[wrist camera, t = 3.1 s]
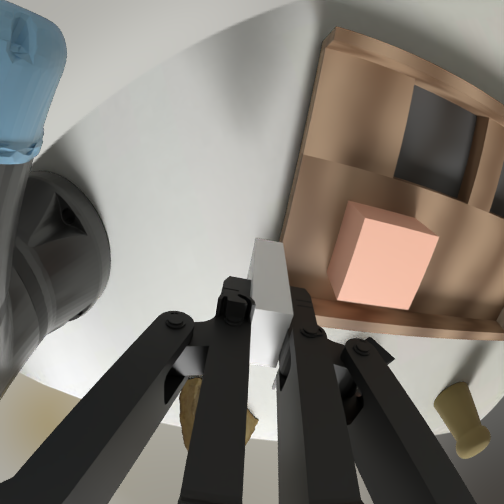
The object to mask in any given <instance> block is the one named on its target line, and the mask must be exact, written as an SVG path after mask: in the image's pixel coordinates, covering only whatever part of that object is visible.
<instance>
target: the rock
mask: <svg viewBox="0 0 504 504" xmlns="http://www.w3.org/2000/svg"><path fill="white" fill-rule="evenodd" d="M201 383H202V379H200V378H193V379H188V380H187V382H186V383H185V385H184V386H183V388H182V389H181V393H180V397H179V400H180V423H181V426H182V434H183V440H184V444H185V447H186V449H187V450H189V444H190V439H191V434H192V429H193V424H194V418H195V413H196V408H197V403H198V398H199V393H200V388H201ZM258 421H259V420H258V419H255V418H254V417H253V416H252V414H250V412H249V410H248V409H247V419H246V438H245V445H246V444H247V442H248V441H249V439H250V437H251V435H252V433H253V432H254V430H255V426H256V425H257V423H258Z"/></svg>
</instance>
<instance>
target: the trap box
mask: <svg viewBox="0 0 504 504" xmlns="http://www.w3.org/2000/svg"><path fill="white" fill-rule="evenodd" d="M348 201H352V202H357V203H361V204H365V205H369V206H372V207H376V208H380V209H384V210H388V211H392V212H395V213H399V214H403V215H406V216H410V217H413V218H416V219H417V220H418V221H420V222H421V223H422V224H424V225H425V226H426V227H427V228H429V229H430V230H431V231H432V232H434V233H435V234H436V235H437V236H439V239H438V242H437V244H436V247H435V249H434V252H433V255H432V257H431V260H430V262H429V265H428V267H427V269H426V272H425V274H424V276H423V279H422V281H421V283H420V286H419V288H418V290H417V292H416V294H415V297H414V299H413V301H412V303H411V305H410V307H409V309H408V310H405V309H397V308H390V307H382V306H375V305H368V304H361V303H354V302H347V301H340V300H337V299H336V296H335V293H334V291H333V288H332V285H331V283H330V280H329V278H328V275H327V269H328V266H329V263H330V260H331V257H332V254H333V250H334V247H335V244H336V241H337V237H338V234H339V231H340V227H341V224H342V220H343V217H344V213H345V210H346V206H347V203H348ZM279 242H281V243H283V246H284V253H285V259H286V266H287V273H288V280H289V286H293V287H299V288H305V289H306V290H307V292H308V293H309V294H310V295H311V299H312V304H313V309H314V312H315V316H316V321H317V325H319V326H320V327H327V328H335V329H344V330H353V331H362V332H372V333H382V334H393V335H404V336H417V337H431V338H447V339H467V340H497V341H504V105H503V104H501V103H500V102H499V101H497V100H496V99H494V98H492V97H491V96H489V95H488V94H486V93H485V92H483V91H482V90H480V89H478V88H477V87H475V86H473V85H472V84H470V83H468V82H467V81H465V80H463V79H461V78H459V77H458V76H456V75H454V74H452V73H450V72H448V71H447V70H445V69H443V68H441V67H439V66H437V65H435V64H433V63H431V62H429V61H427V60H425V59H422V58H420V57H418V56H416V55H414V54H411V53H409V52H407V51H404V50H402V49H400V48H397V47H395V46H392V45H390V44H387V43H385V42H382V41H380V40H377V39H374V38H371V37H368V36H366V35H363V34H360V33H357V32H354V31H351V30H347V29H344V28H341V27H337V26H336V27H335V28H334V29H333V30H332V32H331V33H330V34H329V35H328V36H327V37H326V38H325V39H324V41H323V42H322V47H321V52H320V57H319V62H318V67H317V72H316V77H315V82H314V87H313V92H312V96H311V101H310V106H309V111H308V115H307V120H306V125H305V129H304V134H303V139H302V143H301V148H300V152H299V157H298V161H297V166H296V170H295V175H294V179H293V183H292V188H291V192H290V197H289V201H288V205H287V210H286V214H285V218H284V222H283V227H282V231H281V235H280V239H279Z"/></svg>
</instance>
